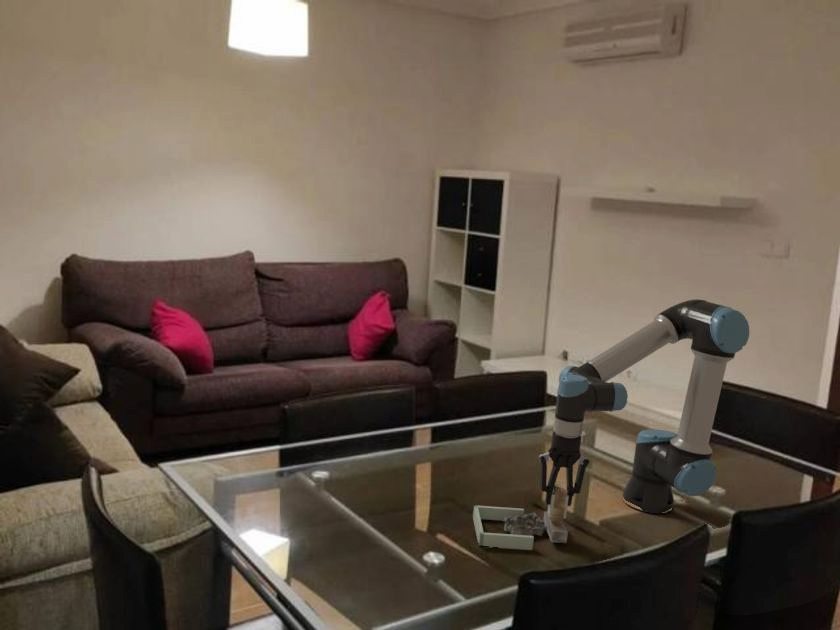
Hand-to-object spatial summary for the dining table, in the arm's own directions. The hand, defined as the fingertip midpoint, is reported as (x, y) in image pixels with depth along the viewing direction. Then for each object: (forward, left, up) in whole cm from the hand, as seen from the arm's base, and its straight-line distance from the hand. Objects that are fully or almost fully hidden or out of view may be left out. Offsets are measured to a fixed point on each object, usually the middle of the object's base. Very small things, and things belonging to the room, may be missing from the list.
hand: (556, 515), depth 210 cm
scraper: (0, 0, -5) cm, 5 cm away
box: (+14, 0, -6) cm, 15 cm away
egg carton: (+8, -2, -7) cm, 10 cm away
